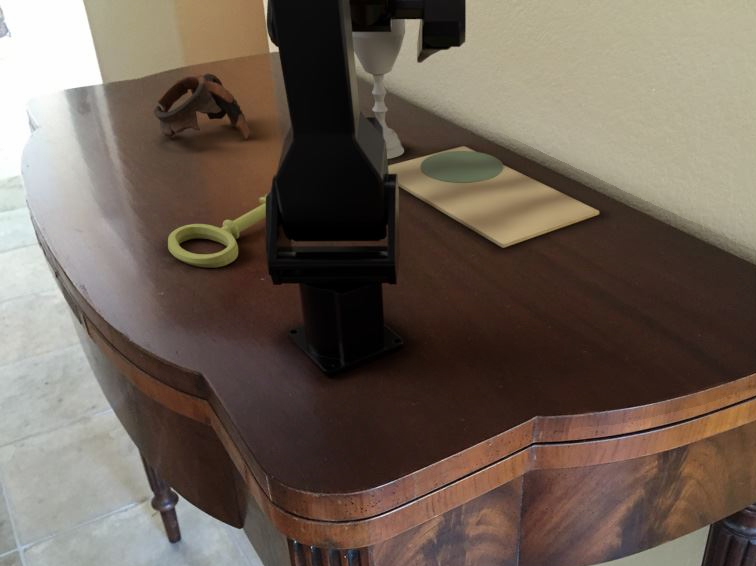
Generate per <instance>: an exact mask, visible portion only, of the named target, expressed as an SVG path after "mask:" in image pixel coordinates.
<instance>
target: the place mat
mask: <svg viewBox="0 0 756 566" xmlns="http://www.w3.org/2000/svg"><path fill="white" fill-rule="evenodd" d="M388 171H389V174H397V175H398V188H401V189H402V190H404V191H406V192H407V193H409V194H411V195H412V196H414V197H416V198H418V200H419V199H420V200H421V201H423V202H424V203H426V204H428V205H429V206H431V207H433V208H434V209H436V210H438V211H440V212H441V213H443V214H445V215H446V216H448V217H450V218H451V219H453V220H455V221H457V222H458V223H460V224H461V225H463V226H464V227H466V228H468V229H470V230H472V231H473V232H474V233H476V234H478V235H480V236H482V237H484V238H485V239H487V240H489V241H490V242H492V243H494V244H496V245H497V246H498V247H501V248H502V249H503V248H507V247H510V246H514V245H516V244H519V243H521V242H524V241H527V240H531V239H534V238H535V237H539V236H542V235H545V234H548V233H550V232H553V231H555V230H558V229H561V228H565V227H567V226H570V225H573V224H576V223H579V222H582V221H585V220H589V219H590V218H593V217H596V216H599V215H600V210H598V209H596V208H594V207H592V206H590V205H588V204H586V203H583V202H581V201H580V200H577V199H575V198H573V197H571V196H569V195H567V194H565V193H563V192H561V191H558V190H556V189H555V188H552V187H550V186H548V185H546V184H544V183H542V182H541V181H538V180H537V179H534V178H532V177H530V176H527V175H525V174H523V173H521V172H519V171H517V170H515V169H513V168H510V167H509V166H506V165H504V164H503V162H502V161H501V160H500V159H499V158H497V157H496V156H493V155H491V154H488V153H484V152H479V151H475V150H473V149H472V148H470V147H467V146H466V145H465V146H464V145H461V146H459V147H455V148H451V149H447V150H444V151H443V150H442V151H439V152H435V153H432V154H428V155H424V156H420V157H416V158H413V159H409V160H405V161H401V162H397V163H394V164H393V163H392V164H388Z"/></svg>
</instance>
